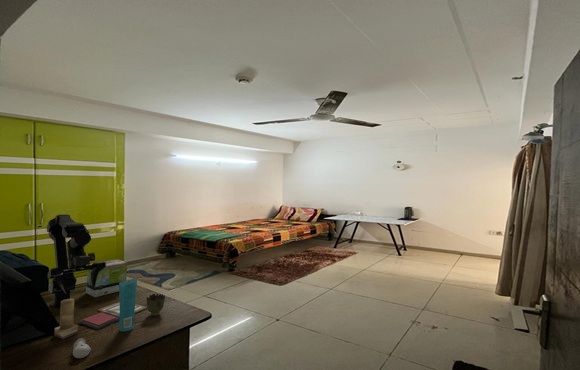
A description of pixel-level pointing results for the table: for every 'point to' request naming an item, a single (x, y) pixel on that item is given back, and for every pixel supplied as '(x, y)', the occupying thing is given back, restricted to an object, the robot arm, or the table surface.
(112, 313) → the wooden picture frame
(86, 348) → the pale two-lobed sculpture
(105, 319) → the ink pad
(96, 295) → the tea box
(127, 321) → the tube
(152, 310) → the cup
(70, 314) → the stamp
